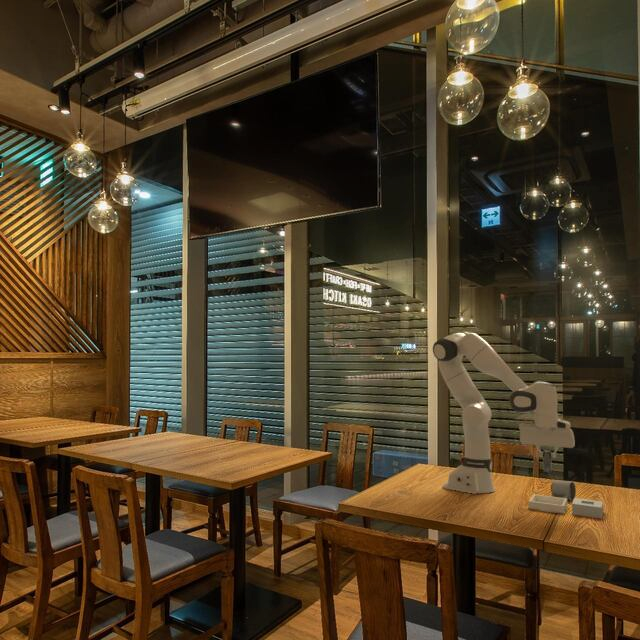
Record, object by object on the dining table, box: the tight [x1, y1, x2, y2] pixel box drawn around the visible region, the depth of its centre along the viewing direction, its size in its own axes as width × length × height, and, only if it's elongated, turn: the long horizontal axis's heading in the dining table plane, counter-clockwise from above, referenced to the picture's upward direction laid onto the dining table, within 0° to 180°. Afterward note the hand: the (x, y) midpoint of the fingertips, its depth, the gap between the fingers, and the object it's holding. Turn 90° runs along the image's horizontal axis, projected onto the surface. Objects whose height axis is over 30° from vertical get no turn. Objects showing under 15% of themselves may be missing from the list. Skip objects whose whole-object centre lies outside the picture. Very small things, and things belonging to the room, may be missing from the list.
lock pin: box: [542, 449, 553, 473], centre depth 207 cm, size 3×3×8 cm
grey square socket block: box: [571, 497, 604, 520], centre depth 199 cm, size 10×10×4 cm
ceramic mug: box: [550, 479, 577, 502], centre depth 219 cm, size 11×8×8 cm
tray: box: [528, 493, 569, 515], centre depth 206 cm, size 13×13×3 cm
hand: (547, 457), depth 207 cm, fingers closed on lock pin, 3 cm apart
